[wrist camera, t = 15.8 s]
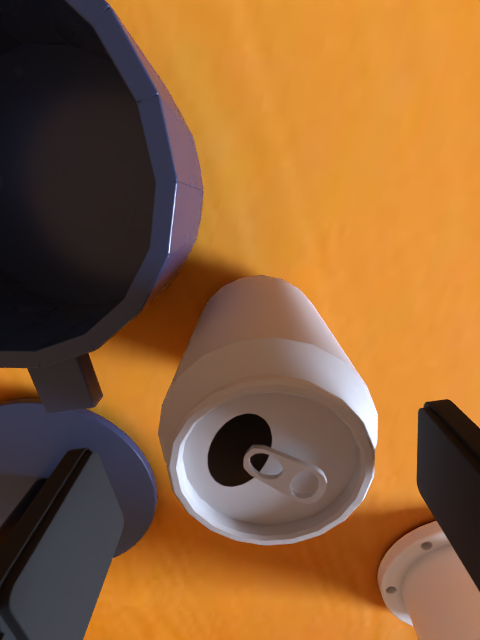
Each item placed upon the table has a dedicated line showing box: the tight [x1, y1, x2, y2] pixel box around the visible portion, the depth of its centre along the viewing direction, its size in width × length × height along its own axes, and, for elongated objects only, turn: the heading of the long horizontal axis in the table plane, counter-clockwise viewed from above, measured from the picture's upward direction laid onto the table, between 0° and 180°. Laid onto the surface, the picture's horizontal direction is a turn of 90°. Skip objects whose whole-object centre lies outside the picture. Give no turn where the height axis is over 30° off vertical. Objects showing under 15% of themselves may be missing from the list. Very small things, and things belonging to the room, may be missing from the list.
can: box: [158, 275, 378, 545], centre depth 15 cm, size 8×8×12 cm
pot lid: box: [0, 398, 157, 558], centre depth 22 cm, size 16×16×6 cm
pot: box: [0, 0, 203, 414], centre depth 15 cm, size 15×20×8 cm
